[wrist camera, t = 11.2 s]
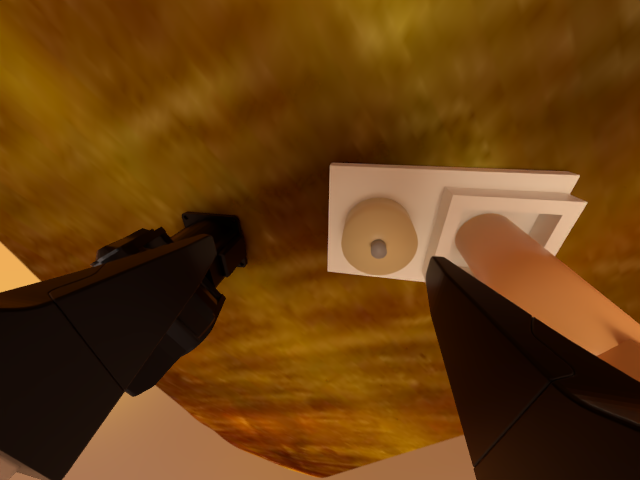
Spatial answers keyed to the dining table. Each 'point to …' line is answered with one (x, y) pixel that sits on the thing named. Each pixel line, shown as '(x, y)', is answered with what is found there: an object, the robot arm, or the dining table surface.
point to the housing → (436, 213)
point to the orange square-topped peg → (548, 290)
